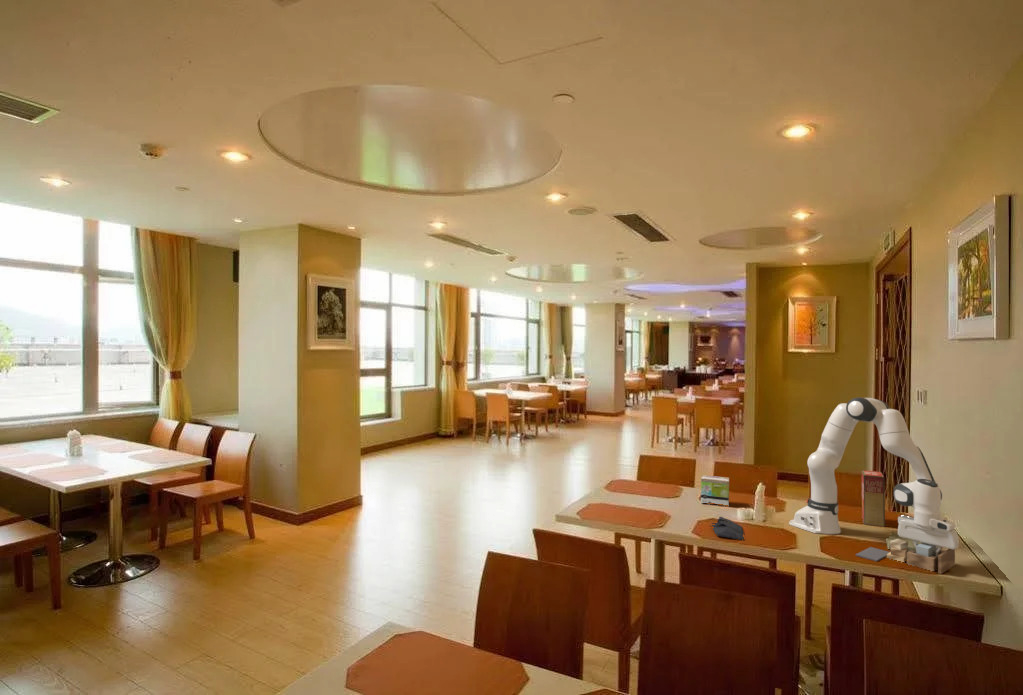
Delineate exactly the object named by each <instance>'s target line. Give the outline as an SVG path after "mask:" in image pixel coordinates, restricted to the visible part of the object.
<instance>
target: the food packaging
mask: <svg viewBox="0 0 1023 695" xmlns="http://www.w3.org/2000/svg"><path fill="white" fill-rule="evenodd" d="M860 472H861V519H863V520H862V523H863V525H867V526H874V527H880V528H885V527H886V509H885V508H886V507H885V505H886V504H885V503H886V502H885V501H886V498H885V496H886V495H885V494H886V493H885V478H886V477H885V476H884V475H883V472H882V471H874V470H861V471H860Z"/></svg>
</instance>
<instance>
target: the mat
mask: <svg viewBox="0 0 1023 695" xmlns="http://www.w3.org/2000/svg"><path fill="white" fill-rule="evenodd" d="M890 552H891V551H889V550H888V551H887V550H884V549H880V548H877V547H872V546H869V547H868V548H865V549H864V550H861V551H860V552H858V553H855V556H856V557H860V558H863V559H866V560H870V561H874V562H879V561H881V560H883V559H884V558H887V554H888V553H890Z"/></svg>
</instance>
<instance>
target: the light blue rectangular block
mask: <svg viewBox="0 0 1023 695" xmlns="http://www.w3.org/2000/svg"><path fill="white" fill-rule="evenodd" d="M937 549H938V548H936V545H932V544H928V543H924V542H923V543H921V544H919V545H917V546H916V554H920V555H923V556H927V557H932V556H933V551H936V550H937ZM936 557H937V556H936Z"/></svg>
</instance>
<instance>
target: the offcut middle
mask: <svg viewBox="0 0 1023 695" xmlns="http://www.w3.org/2000/svg"><path fill="white" fill-rule="evenodd" d="M890 552H891V555H895V556H900V557H904V558H905V557H906V556H907V552H908V548H905V549H902V550H899V549H895V548H891V550H890Z"/></svg>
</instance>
